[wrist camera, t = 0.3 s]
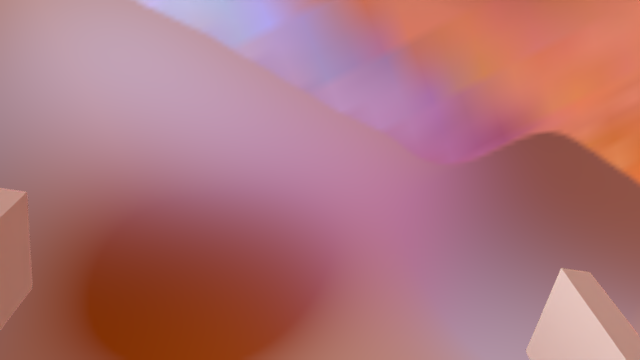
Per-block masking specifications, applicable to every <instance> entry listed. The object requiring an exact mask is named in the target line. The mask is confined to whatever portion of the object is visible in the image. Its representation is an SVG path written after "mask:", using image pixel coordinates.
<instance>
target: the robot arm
mask: <svg viewBox="0 0 640 360" xmlns="http://www.w3.org/2000/svg"><path fill="white" fill-rule="evenodd" d="M31 289H32V271H31V252H30V236H29V217H28V200H27V192H25V191H17V190H11V189H3V188H0V330H1V329H2V327H3V326H4V325H5V323H6V322H7V321H8V319H9V318H10V317H11V316H12V314H13V313H14V312H15V310H16V309H17V308H18V306H19V305H20V304H21V302H22V301H23V300H24V298H25V297H26V296H27V294H28V293H29V291H30V290H31ZM526 353H527V355H528V357H529V359H530V360H640V336H639V334H638V333H637V332H636V331H635V329H634V328H633V327H632V325H631V324H630V323H629V322H628V320H627V319H626V318H625V317H624V315H623V314H622V313H621V311H620V310H619V309H618V308H617V306H616V305H615V304H614V302H613V301H612V300H611V299H610V297H609V296H608V295H607V293H606V292H605V291H604V290H603V288H602V287H601V286H600V285H599V283H598V282H597V281H596V279H595V278H594V277H593V276H592V274H591V273H590V272H585V271H579V270H572V269H565V268H561V270H560V272H559V275H558V277H557V279H556V281H555V284H554V286H553V289H552V291H551V293H550V295H549V298H548V300H547V303H546V305H545V307H544V310H543V312H542V314H541V317H540V319H539V322H538V324H537V326H536V328H535V331H534V333H533V336H532V338H531V340H530V342H529V345H528V347H527V350H526Z"/></svg>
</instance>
